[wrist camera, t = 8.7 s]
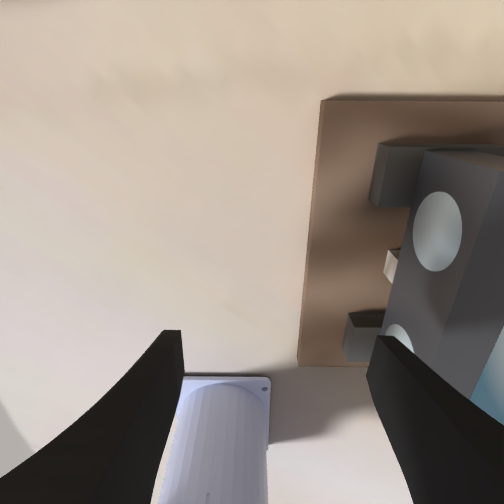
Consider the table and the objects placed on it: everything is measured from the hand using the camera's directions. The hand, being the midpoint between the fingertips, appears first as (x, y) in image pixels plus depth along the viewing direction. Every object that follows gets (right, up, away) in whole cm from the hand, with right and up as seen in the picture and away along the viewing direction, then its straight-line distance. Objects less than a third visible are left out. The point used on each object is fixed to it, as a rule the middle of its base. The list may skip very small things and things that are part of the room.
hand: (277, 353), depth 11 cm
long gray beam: (+9, +2, +6) cm, 11 cm away
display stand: (+9, +4, +9) cm, 13 cm away
